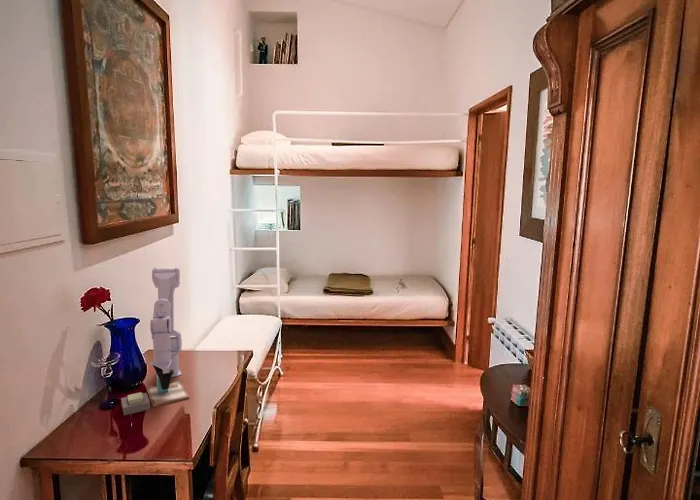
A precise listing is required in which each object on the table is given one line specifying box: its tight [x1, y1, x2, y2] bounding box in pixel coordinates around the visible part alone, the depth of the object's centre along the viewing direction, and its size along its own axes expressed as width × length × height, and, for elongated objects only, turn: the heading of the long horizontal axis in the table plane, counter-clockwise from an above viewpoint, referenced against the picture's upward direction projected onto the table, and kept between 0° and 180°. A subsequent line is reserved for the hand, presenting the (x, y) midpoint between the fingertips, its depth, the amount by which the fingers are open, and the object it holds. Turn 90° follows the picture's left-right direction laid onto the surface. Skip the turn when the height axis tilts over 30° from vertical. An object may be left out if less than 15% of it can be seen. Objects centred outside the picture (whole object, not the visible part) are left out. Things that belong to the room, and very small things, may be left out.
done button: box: [126, 391, 143, 405], centre depth 145 cm, size 4×4×3 cm
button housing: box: [120, 392, 151, 416], centre depth 145 cm, size 8×8×3 cm
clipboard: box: [145, 380, 190, 408], centre depth 155 cm, size 16×12×1 cm
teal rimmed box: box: [155, 374, 168, 394], centre depth 155 cm, size 3×3×7 cm
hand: (163, 385), depth 155 cm, fingers open, 7 cm apart
